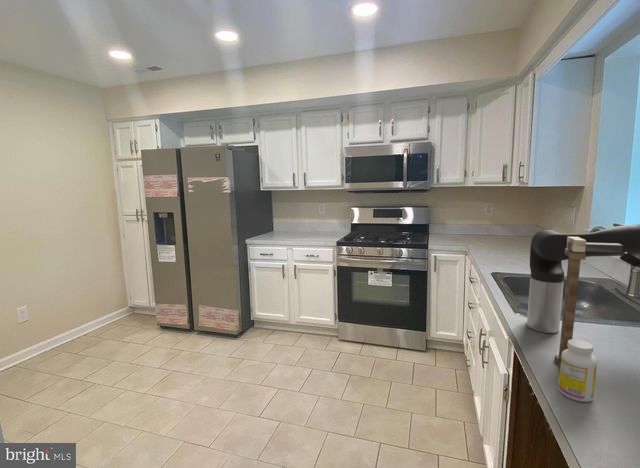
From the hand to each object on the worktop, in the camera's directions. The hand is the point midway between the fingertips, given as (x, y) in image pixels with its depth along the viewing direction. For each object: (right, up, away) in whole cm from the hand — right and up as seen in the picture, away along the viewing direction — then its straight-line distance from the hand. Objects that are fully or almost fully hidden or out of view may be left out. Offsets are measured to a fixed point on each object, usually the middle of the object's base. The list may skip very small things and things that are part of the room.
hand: (631, 259), depth 83 cm
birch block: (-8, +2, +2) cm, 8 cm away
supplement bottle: (-16, -32, -3) cm, 36 cm away
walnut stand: (-11, -30, +9) cm, 33 cm away
